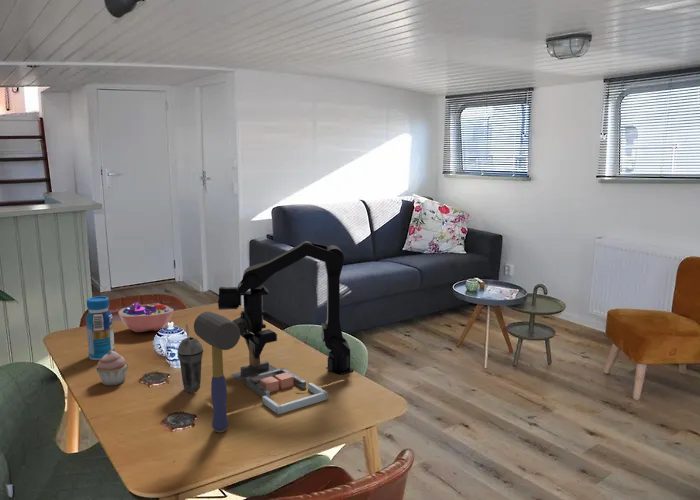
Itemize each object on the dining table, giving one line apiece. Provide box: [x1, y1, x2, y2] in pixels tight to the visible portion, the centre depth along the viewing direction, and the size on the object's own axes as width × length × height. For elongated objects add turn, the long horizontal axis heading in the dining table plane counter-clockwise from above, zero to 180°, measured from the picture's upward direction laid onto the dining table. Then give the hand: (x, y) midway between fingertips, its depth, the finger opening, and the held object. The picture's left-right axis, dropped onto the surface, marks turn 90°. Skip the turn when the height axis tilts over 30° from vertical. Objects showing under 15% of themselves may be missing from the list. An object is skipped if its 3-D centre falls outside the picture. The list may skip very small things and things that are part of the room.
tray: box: [261, 382, 329, 415], centre depth 164 cm, size 16×8×2 cm, turn 127°
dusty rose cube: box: [259, 376, 280, 393], centre depth 171 cm, size 4×4×4 cm
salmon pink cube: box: [275, 372, 295, 390], centre depth 174 cm, size 4×4×4 cm
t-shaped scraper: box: [239, 338, 270, 376], centre depth 182 cm, size 9×2×11 cm, turn 127°
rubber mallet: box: [193, 311, 241, 433], centre depth 145 cm, size 12×8×30 cm, turn 39°
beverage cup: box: [177, 324, 204, 393], centre depth 170 cm, size 7×7×20 cm
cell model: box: [117, 301, 174, 333], centre depth 223 cm, size 17×20×11 cm
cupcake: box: [95, 350, 130, 387], centre depth 176 cm, size 9×9×10 cm
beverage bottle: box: [85, 295, 116, 361], centre depth 196 cm, size 8×8×20 cm
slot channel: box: [244, 367, 307, 399], centre depth 173 cm, size 13×13×2 cm
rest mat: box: [230, 364, 278, 382], centre depth 183 cm, size 14×6×1 cm, turn 127°
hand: (254, 357), depth 182 cm, fingers open, 3 cm apart
